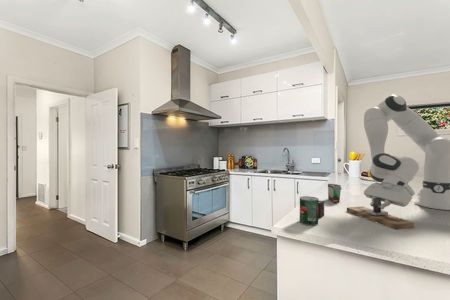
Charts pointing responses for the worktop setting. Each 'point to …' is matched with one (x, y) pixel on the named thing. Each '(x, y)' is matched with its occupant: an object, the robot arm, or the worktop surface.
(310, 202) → the canned tomato
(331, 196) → the food container
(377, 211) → the slider
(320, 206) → the box
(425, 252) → the worktop surface
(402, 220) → the brown wooden board
